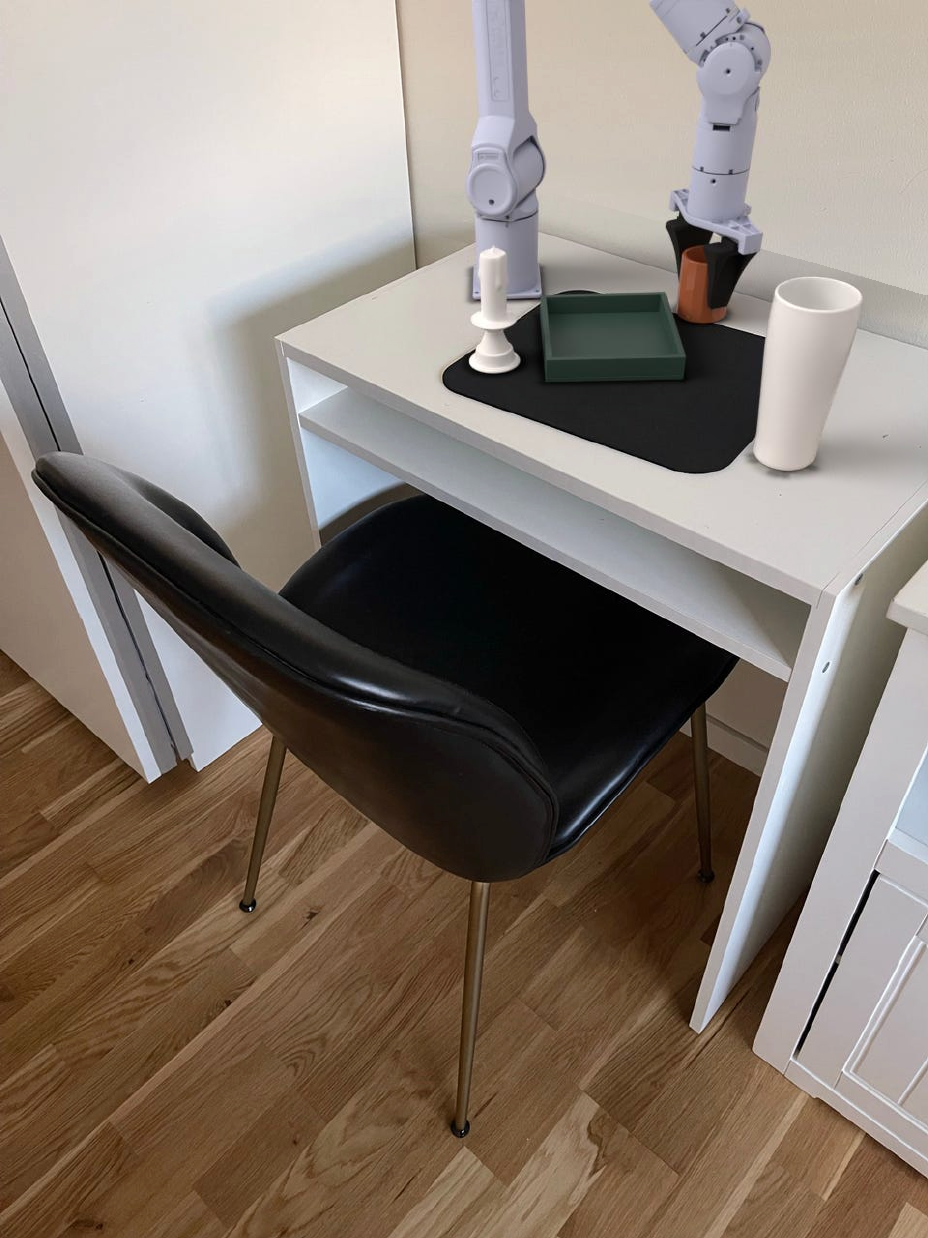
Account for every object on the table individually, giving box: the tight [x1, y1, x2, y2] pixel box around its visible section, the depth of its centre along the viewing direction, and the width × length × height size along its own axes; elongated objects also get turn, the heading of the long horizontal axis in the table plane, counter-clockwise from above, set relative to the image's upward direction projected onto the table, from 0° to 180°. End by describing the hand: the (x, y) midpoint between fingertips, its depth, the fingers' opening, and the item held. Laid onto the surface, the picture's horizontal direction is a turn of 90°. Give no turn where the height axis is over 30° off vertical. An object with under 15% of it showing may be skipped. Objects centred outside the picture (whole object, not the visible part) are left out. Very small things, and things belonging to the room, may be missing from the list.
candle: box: [468, 245, 521, 374], centre depth 96 cm, size 5×5×12 cm
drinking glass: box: [752, 276, 864, 472], centre depth 80 cm, size 7×7×15 cm
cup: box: [675, 245, 728, 324], centre depth 105 cm, size 5×5×6 cm
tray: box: [539, 291, 687, 383], centre depth 101 cm, size 15×14×2 cm
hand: (703, 296), depth 106 cm, fingers closed on cup, 5 cm apart
